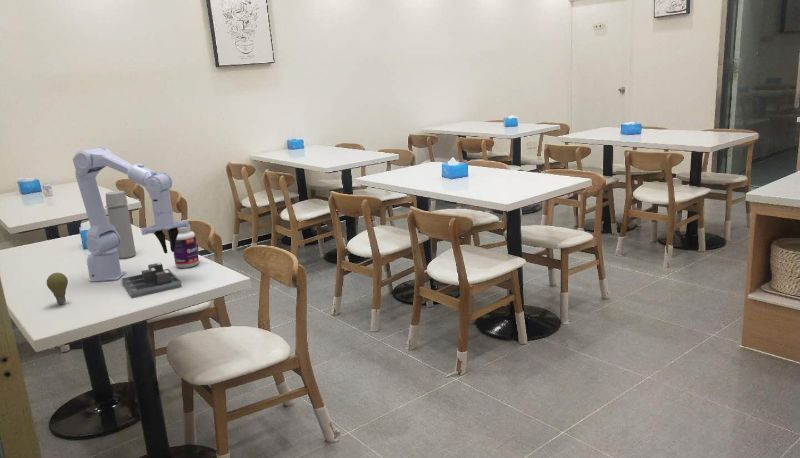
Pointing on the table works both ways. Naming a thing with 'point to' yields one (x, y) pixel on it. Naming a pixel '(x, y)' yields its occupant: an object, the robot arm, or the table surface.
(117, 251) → the robot arm
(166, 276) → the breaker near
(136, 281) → the panel
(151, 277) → the block
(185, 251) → the pill bottle
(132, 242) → the water bottle
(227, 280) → the table surface
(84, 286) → the table surface
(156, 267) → the breaker far
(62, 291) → the light bulb
